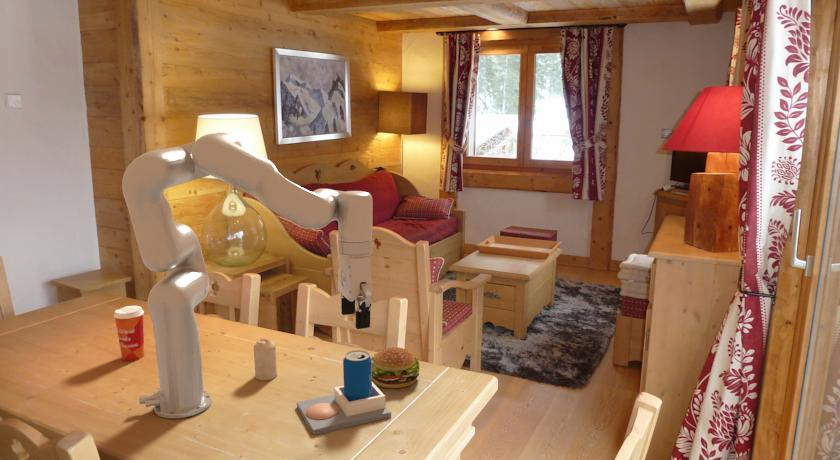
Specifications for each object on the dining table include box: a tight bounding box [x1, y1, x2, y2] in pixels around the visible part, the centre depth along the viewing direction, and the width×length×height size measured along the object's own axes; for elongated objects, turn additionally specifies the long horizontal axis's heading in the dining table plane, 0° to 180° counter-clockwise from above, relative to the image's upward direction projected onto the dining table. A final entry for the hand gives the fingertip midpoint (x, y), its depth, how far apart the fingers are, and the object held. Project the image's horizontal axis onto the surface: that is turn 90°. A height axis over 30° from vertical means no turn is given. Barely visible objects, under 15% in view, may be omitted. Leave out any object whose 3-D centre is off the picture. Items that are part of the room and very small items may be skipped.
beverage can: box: [342, 349, 373, 402], centre depth 143 cm, size 6×6×12 cm
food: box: [371, 346, 420, 389], centre depth 159 cm, size 14×14×8 cm
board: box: [296, 381, 392, 436], centre depth 143 cm, size 18×14×4 cm
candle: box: [253, 338, 278, 382], centre depth 161 cm, size 6×6×10 cm
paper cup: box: [113, 305, 145, 362], centre depth 173 cm, size 8×8×14 cm
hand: (355, 320), depth 140 cm, fingers open, 9 cm apart
